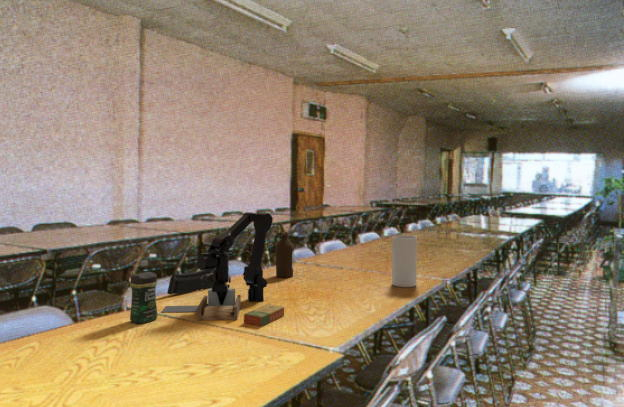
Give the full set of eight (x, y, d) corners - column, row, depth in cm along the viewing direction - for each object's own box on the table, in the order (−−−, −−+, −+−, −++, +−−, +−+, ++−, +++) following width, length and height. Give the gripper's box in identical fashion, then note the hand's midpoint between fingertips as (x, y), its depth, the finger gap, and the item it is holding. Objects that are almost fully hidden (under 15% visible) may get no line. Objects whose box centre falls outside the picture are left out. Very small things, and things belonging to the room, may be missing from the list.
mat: (204, 306, 202) (204, 305, 202) (200, 312, 193) (200, 311, 193) (166, 306, 201) (166, 306, 201) (161, 312, 192) (161, 312, 192)
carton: (284, 316, 189) (284, 306, 188) (261, 328, 175) (261, 316, 174) (267, 313, 193) (267, 303, 192) (243, 324, 179) (243, 313, 178)
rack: (240, 306, 202) (240, 294, 202) (237, 319, 183) (237, 307, 183) (204, 307, 201) (204, 295, 201) (197, 320, 182) (197, 307, 182)
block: (235, 307, 200) (235, 288, 200) (234, 309, 197) (234, 290, 197) (209, 307, 200) (208, 289, 199) (208, 309, 197) (208, 290, 196)
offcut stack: (234, 313, 191) (234, 304, 191) (233, 318, 185) (233, 309, 185) (204, 314, 190) (204, 305, 190) (202, 318, 184) (202, 309, 184)
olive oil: (276, 278, 258) (276, 233, 256) (273, 274, 268) (273, 231, 267) (295, 277, 260) (295, 232, 259) (292, 274, 270) (292, 230, 269)
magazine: (166, 278, 215) (215, 252, 237) (162, 277, 217) (211, 251, 239) (176, 311, 220) (223, 282, 242) (171, 310, 222) (218, 281, 244)
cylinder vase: (389, 286, 241) (390, 237, 239) (394, 281, 252) (395, 234, 251) (414, 288, 236) (414, 239, 235) (418, 283, 248) (419, 236, 246)
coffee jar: (140, 325, 176) (139, 276, 175) (126, 321, 180) (126, 273, 179) (161, 319, 184) (160, 271, 183) (148, 315, 188) (147, 269, 187)
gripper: (205, 263, 206) (205, 298, 207) (198, 271, 188) (198, 310, 188) (231, 262, 207) (231, 297, 208) (226, 271, 188) (227, 309, 189)
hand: (221, 303), depth 198 cm, fingers closed on block, 3 cm apart
